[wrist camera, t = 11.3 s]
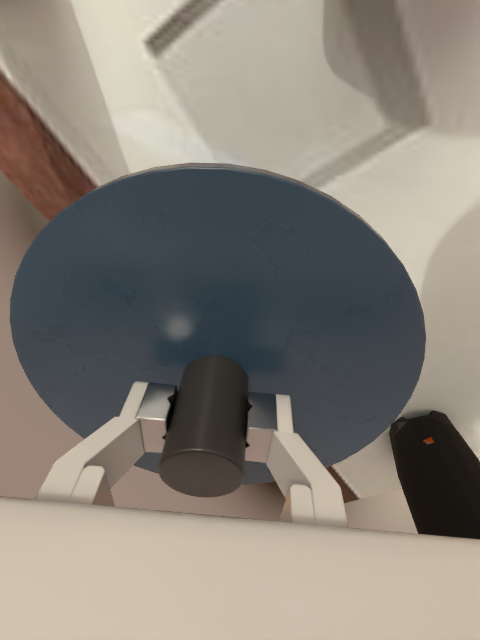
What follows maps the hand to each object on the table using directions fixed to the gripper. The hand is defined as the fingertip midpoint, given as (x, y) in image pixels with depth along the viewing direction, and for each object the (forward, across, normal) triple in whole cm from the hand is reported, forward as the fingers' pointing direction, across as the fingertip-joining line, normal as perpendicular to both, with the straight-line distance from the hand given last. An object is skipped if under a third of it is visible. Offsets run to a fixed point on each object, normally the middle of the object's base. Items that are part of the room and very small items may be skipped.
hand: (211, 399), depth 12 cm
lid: (+2, 0, 0) cm, 2 cm away
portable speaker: (+21, -26, +26) cm, 42 cm away
